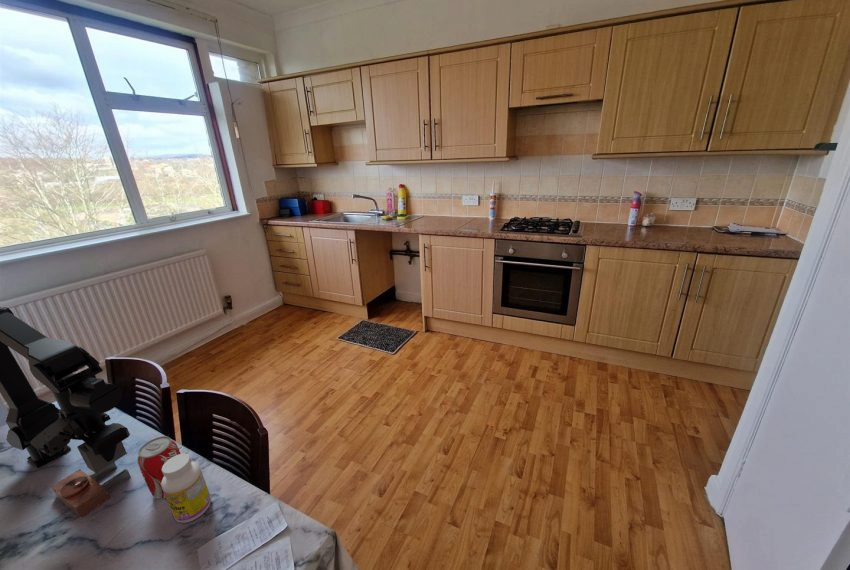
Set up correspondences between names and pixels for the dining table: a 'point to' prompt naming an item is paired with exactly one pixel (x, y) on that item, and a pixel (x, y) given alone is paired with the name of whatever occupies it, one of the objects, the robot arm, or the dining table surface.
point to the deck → (87, 489)
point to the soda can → (156, 462)
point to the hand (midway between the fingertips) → (105, 457)
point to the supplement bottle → (185, 488)
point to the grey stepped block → (100, 457)
